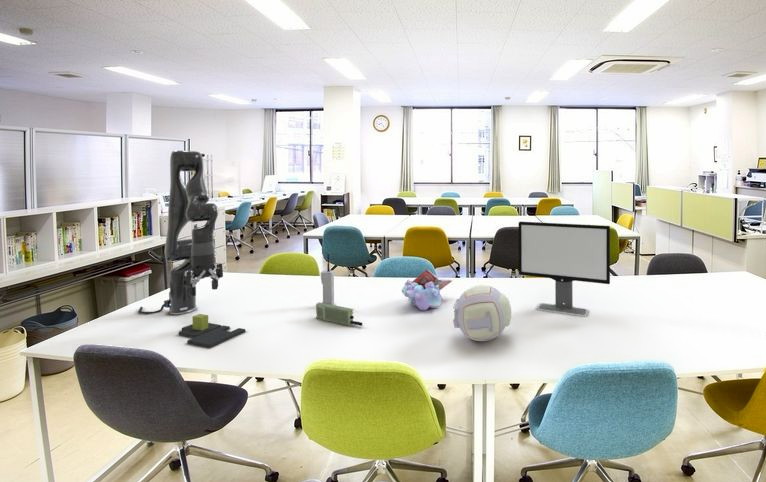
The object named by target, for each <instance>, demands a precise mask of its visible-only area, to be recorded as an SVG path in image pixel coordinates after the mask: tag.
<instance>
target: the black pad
mask: <svg viewBox="0 0 766 482" xmlns="http://www.w3.org/2000/svg"><path fill="white" fill-rule="evenodd" d="M191 318H192V323H191V324H189V325H186V326H184V327H181V331H179V332H178V336H183V337H187V338H191V339H192V338H194V337H197V336H199V335H202V334H204V333H206V332H209V331H211V330H214V329H216V328H218V327H221V326H223V325H222V324H217V323H211V322H209V314H204V313H203V314H202V313H198V314H195V315H193V316H192V317H191Z"/></svg>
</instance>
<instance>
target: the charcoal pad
mask: <svg viewBox="0 0 766 482" xmlns="http://www.w3.org/2000/svg"><path fill="white" fill-rule="evenodd" d="M230 329H231V326H229V325H224V324H223V325H222V326H221V327H218V328H216V329H214V330H211V331H209V332H206V333H204V334H202V335H199V336H197V337H194V338H192V337H191V338H189V339H187V340H186V341H187V344H188V345H193V346H198V347H203V348H209V349H212V348H214V347H216V346H218V345H220V344H222V343H225V342H227V341H229V340H231V339H233V338H235V337H238V336H240V335H242V334H244V333H246V328H241V327H238V328H236V329H234V330H231V331H229V330H230Z"/></svg>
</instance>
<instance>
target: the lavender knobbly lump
mask: <svg viewBox="0 0 766 482" xmlns="http://www.w3.org/2000/svg"><path fill="white" fill-rule="evenodd" d="M453 281H454V280H451V279H439V277H438V276H436V275H435V274H434V273H433V272H432V271H430V270H429V269H426V270H424V271H423V272H422V273H421V274H420V275H418V276H417V277H416V278H414V279H413V280H411V279H407V280H406V282H405V283H404V286H403V287H402V289H401V293H402V294H403V295H404V297H406V298H408V300H409V302H410V303H412V304H413V305H414V306H415V307H417V308H418V309H419V310H421V311H427V310H428V309H429V308H432V309H435V308H438V307H439V306H440V305H441V304H442V301H443V299H442V294H441V290H443V289H444V288H445V287H447V286H448V285H450V283H452V282H453Z"/></svg>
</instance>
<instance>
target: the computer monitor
mask: <svg viewBox="0 0 766 482" xmlns="http://www.w3.org/2000/svg"><path fill="white" fill-rule="evenodd" d="M518 276H527V277H535V278H545V279H552V280H553V281H555V282H554V285H555V287H554V288H555V293H554V295H555V296H554V297H555V300H554V301H555V304H553V303H545V302H542V303H539V304H538V305H537V310H539V311H542V312H550V313H555V314H564V315H571V316H578V317H586V316H588V309H587V308H583V307H576V306H573V301H574V300H573V282H584V283H594V284H604V285H610V283H611V226H610V225H604V224H603V225H601V224H600V225H599V224H580V223H578V224H577V223H559V222H540V221H539V222H538V221H537V222H536V221H519V222H518Z"/></svg>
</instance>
